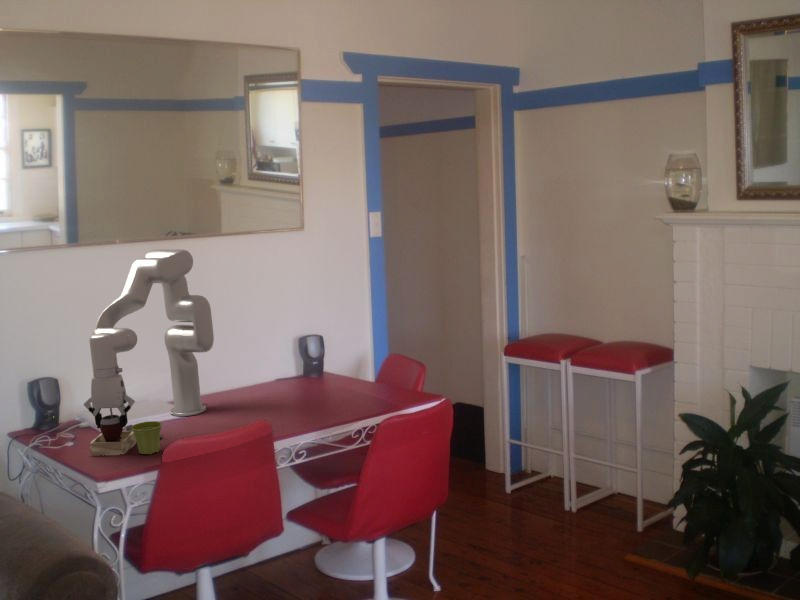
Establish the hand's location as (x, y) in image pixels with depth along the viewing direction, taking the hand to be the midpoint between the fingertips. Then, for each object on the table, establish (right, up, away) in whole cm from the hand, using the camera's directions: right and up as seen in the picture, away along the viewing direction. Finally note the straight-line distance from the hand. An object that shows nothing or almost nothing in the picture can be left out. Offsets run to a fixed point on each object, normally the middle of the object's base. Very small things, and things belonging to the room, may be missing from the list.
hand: (112, 426), depth 299 cm
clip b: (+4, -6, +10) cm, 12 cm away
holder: (0, -8, +1) cm, 8 cm away
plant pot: (+13, -8, -3) cm, 15 cm away
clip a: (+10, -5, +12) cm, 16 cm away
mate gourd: (0, -5, +1) cm, 5 cm away
